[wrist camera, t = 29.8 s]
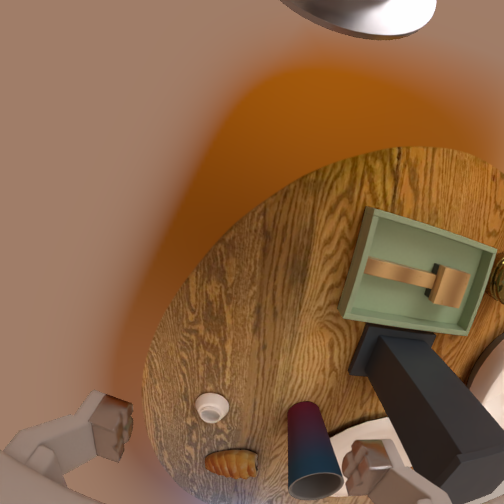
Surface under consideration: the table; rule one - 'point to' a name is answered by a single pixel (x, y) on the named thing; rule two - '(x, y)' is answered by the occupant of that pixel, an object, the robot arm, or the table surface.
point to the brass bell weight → (496, 279)
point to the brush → (424, 279)
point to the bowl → (490, 379)
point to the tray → (418, 256)
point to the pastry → (233, 463)
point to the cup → (310, 455)
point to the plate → (365, 431)
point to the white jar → (211, 407)
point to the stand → (432, 412)
